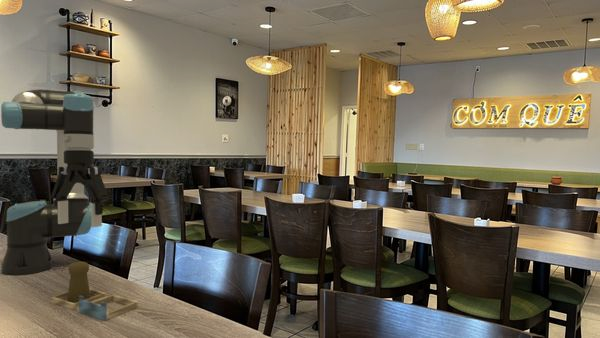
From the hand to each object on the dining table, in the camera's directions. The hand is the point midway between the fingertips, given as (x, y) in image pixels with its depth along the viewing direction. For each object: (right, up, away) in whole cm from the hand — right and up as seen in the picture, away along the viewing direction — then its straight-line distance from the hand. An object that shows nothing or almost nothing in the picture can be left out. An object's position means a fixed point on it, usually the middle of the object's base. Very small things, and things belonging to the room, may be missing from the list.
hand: (79, 225), depth 120 cm
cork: (-1, -22, +1) cm, 22 cm away
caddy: (+5, -22, -2) cm, 23 cm away
